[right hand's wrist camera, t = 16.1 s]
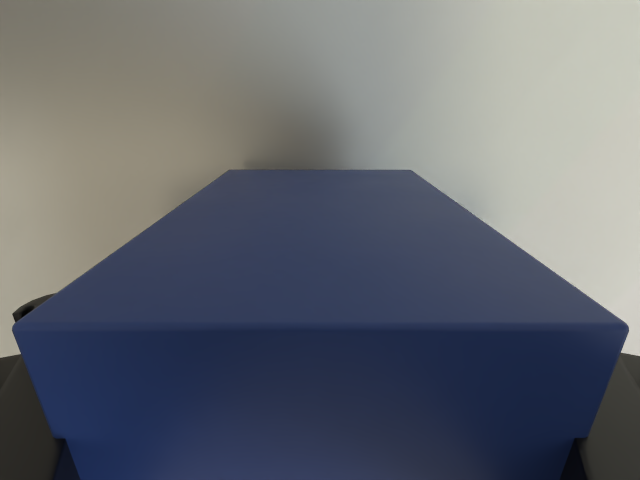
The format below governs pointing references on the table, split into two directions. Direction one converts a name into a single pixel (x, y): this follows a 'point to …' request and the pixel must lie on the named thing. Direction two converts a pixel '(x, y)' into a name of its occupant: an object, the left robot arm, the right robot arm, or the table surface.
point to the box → (320, 341)
